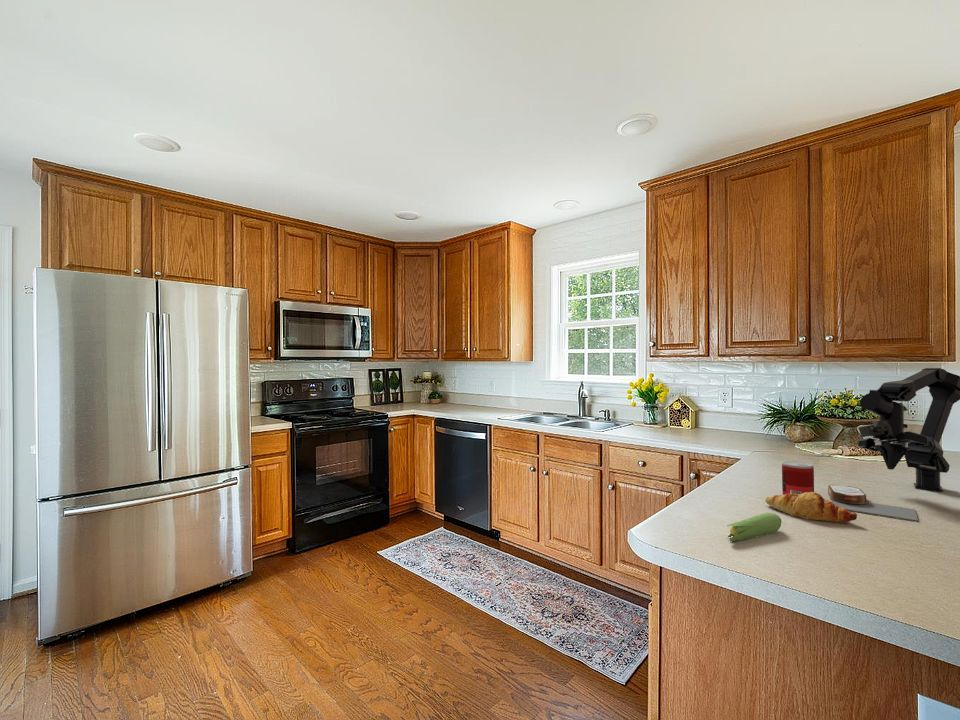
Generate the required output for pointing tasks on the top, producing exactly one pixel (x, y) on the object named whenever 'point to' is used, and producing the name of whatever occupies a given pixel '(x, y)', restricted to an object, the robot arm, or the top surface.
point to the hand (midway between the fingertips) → (890, 469)
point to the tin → (847, 494)
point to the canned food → (797, 477)
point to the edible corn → (755, 526)
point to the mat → (880, 510)
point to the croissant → (810, 507)
